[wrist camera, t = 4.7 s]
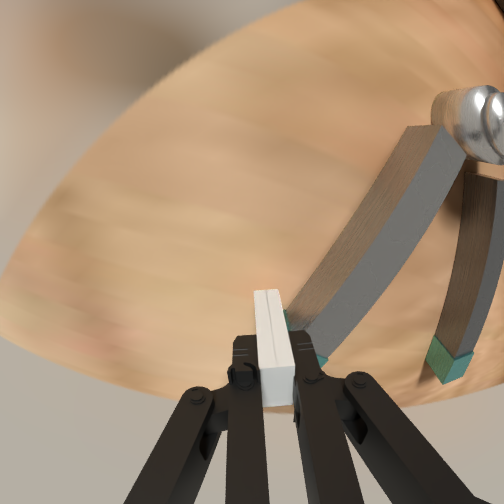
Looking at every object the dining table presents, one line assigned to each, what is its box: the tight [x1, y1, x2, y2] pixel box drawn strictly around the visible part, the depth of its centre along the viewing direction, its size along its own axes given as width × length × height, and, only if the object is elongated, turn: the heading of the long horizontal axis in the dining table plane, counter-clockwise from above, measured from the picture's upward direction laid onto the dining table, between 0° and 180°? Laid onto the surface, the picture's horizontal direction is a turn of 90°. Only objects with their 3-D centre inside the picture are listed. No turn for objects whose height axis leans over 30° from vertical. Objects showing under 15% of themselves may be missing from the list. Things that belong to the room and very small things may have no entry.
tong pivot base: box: [425, 85, 504, 385], centre depth 15 cm, size 24×6×4 cm, turn 4°
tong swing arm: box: [283, 92, 504, 368], centre depth 14 cm, size 23×6×5 cm, turn 149°
